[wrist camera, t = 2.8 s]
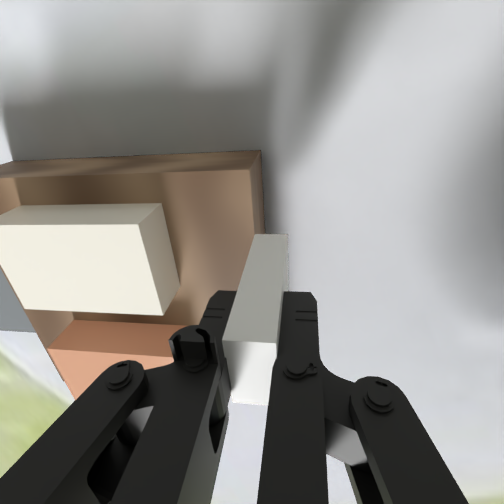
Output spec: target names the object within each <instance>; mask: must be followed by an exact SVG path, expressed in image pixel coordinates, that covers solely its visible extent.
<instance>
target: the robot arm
mask: <svg viewBox="0 0 504 504" xmlns="http://www.w3.org/2000/svg"><path fill="white" fill-rule="evenodd" d="M288 286H289V272H288V234H255V235H254V239H253V242H252V245H251V248H250V251H249V255H248V258H247V261H246V264H245V267H244V271H243V274H242V277H241V280H240V284H239V287H238V290H237V291H227V290H218V291H217V292H216V293H215V294H214V295H213V296H212V297H211V298H210V299H209V301H208V304H207V306H206V310H205V311H204V313H203V316H202V318H201V320H200V323H199V325H189V326H186V327H184V328H181V329H179V330H178V331H176V332H175V333H174V334H173V335H172V336H171V337H170V339H169V340H168V341H169V345H170V348H171V352H172V356H173V359H174V362H173V363H171V364H168V365H165V366H160V367H156V368H151V369H146V370H144V368H143V366H142V364H141V363H139V362H137V361H134V360H125V361H120V362H118V363H115V364H113V365H111V366H110V367H108V368H107V369H106V370H105V371H103V372H102V373H101V374H100V375H99V376H98V377H97V378H96V379H95V380H94V382H93V383H92V384H91V385H90V386H89V387H88V388H87V389H86V390H85V391H84V392H83V393H82V394H81V395H80V396H79V397H78V398H77V399H76V400H75V401H74V402H73V403H72V404H71V405H70V406H69V407H68V409H67V410H66V411H65V412H64V413H63V414H62V415H61V416H60V417H59V418H58V419H57V420H56V421H55V422H54V423H53V424H52V425H51V426H50V427H49V428H48V429H47V430H46V431H45V432H44V433H43V435H42V436H41V437H40V438H39V439H38V440H37V441H36V442H35V443H34V444H33V445H32V446H31V447H30V448H29V449H28V450H27V451H26V452H25V453H24V454H23V455H22V456H21V457H20V458H19V459H18V461H17V462H16V463H15V464H14V465H13V466H12V467H11V468H10V469H9V470H8V471H7V472H6V473H5V474H4V475H3V476H2V477H1V478H0V504H210V503H211V499H212V494H213V489H214V485H215V480H216V476H217V471H218V466H219V462H220V457H221V453H222V448H223V443H224V439H225V434H226V430H227V425H228V420H229V412H228V407H227V406H228V402H229V398H230V394H231V399H232V403H242V404H253V405H264V406H268V411H267V420H266V428H265V437H264V446H263V455H262V464H261V472H260V481H259V490H258V499H257V504H329V502H328V483H327V464H326V454H328V455H330V456H332V457H334V458H336V459H338V460H340V461H342V462H344V464H345V467H346V470H347V473H348V476H349V479H350V482H351V485H352V488H353V492H354V495H355V498H356V501H357V504H469V503H468V502H467V500H466V498H465V496H464V495H463V493H462V491H461V490H460V488H459V486H458V484H457V483H456V481H455V479H454V478H453V476H452V474H451V472H450V471H449V469H448V467H447V466H446V464H445V462H444V461H443V459H442V457H441V455H440V454H439V452H438V450H437V449H436V447H435V445H434V443H433V442H432V440H431V438H430V437H429V435H428V433H427V432H426V430H425V428H424V426H423V425H422V423H421V421H420V420H419V418H418V416H417V414H416V413H415V411H414V409H413V408H412V406H411V404H410V403H409V401H408V399H407V397H406V396H405V395H404V393H403V392H402V391H401V390H400V388H399V387H398V386H396V385H395V384H393V383H392V382H390V381H389V380H386V379H383V378H380V377H372V376H367V377H364V378H361V379H358V380H357V381H356V382H355V383H354V382H351V381H348V380H345V379H343V378H340V377H338V376H336V375H334V374H333V373H331V372H330V371H328V369H327V368H326V367H325V366H324V365H323V363H322V361H321V359H320V354H319V336H318V316H317V301H316V299H315V298H314V296H313V295H312V294H311V292H289V291H288Z"/></svg>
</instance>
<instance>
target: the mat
mask: <svg viewBox="0 0 504 504" xmlns="http://www.w3.org/2000/svg"><path fill="white" fill-rule="evenodd" d="M0 330H1V331H18V332H34V333H36V331H35V330H34V328H33V326H32V324H31V322H30V321H29V319H28V317H27V315H26V313H25V312H24V310H23V308H22V306H21V304H20V303H19V301H18V299H17V297H16V295H15V294H14V292H13V290H12V288H11V286H10V285H9V283H8V281H7V279H6V277H5V276H4V274H3V272H2V270H1V268H0Z"/></svg>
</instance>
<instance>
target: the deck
mask: <svg viewBox="0 0 504 504" xmlns="http://www.w3.org/2000/svg"><path fill="white" fill-rule="evenodd" d="M139 203H162V207H163V212H164V216H165V221H166V225H167V229H168V234H169V238H170V243H171V247H172V251H173V256H174V260H175V265H176V269H177V273H178V278H179V282H180V288H179V289H178V291H177V293H176V295H175V296H174V298H173V300H172V301H171V303H170V305H169V306H168V308H167V310H166V312H165V313H164V315H141V314H120V313H98V312H77V311H55V310H34V309H25V308H24V307H23V305H22V303H21V301H20V299H19V298H18V296H17V294H16V292H15V290H14V289H13V287H12V285H11V283H10V281H9V280H8V278H7V276H6V274H5V272H4V270H3V269H2V267H1V265H0V268H1V270H2V272H3V274H4V276H5V277H6V279H7V281H8V283H9V285H10V286H11V288H12V290H13V292H14V294H15V295H16V297H17V299H18V301H19V303H20V304H21V306H22V308H23V310H24V312H25V313H26V315H27V317H28V319H29V321H30V322H31V324H32V326H33V328H34V330H35V331H36V333H37V335H38V337H39V339H40V340H41V342H42V344H43V346H44V348H45V349H46V351H47V353H48V355H49V357H50V358H51V360H52V362H53V364H54V366H55V367H56V369H57V371H58V373H59V374H60V372H59V370H58V368H57V366H56V365H55V363H54V361H53V359H52V357H51V355H50V354H49V352H48V350H47V348H48V347H49V346H50V345H51V344H52V343H53V341H54V340H55V339H56V338H57V337H58V336H59V335H60V334H61V333H62V332H63V331H64V330H65V329H66V328H67V327H68V325H69V324H70V323H71V322H72V321H73V320H87V321H107V322H126V323H145V324H165V325H184V326H189V325H199V323H200V320H201V318H202V316H203V313H204V311H205V310H206V306H207V304H208V301H209V299H210V298H211V297H212V296H213V295H214V294H215V293H216V292H217V291H218V290H227V291H237V290H238V287H239V284H240V280H241V277H242V274H243V271H244V267H245V264H246V261H247V258H248V255H249V251H250V248H251V245H252V242H253V239H254V235H255V234H265V218H264V200H263V183H262V165H261V150H255V151H232V152H210V153H187V154H164V155H142V156H119V157H96V158H74V159H51V160H28V161H11V162H8V163H5V164H1V165H0V215H1V214H4V213H6V212H8V211H10V210H12V209H14V208H16V207H19V206H21V205H80V204H139ZM60 376H61V378H62V380H63V381H64V379H63V377H62V375H61V374H60ZM230 396H231V394H230Z"/></svg>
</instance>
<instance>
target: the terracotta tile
mask: <svg viewBox="0 0 504 504" xmlns="http://www.w3.org/2000/svg"><path fill="white" fill-rule="evenodd" d="M184 327H186V326H184V325H165V324H145V323H126V322H107V321H87V320H73V321H72V322H71V323H70V324H69V325H68V327H67V328H66V329H65V330H64V331H63V332H62V333H61V334H60V335H59V336H58V337H57V338H56V339H55V340H54V341H53V343H52V344H51V345H50V346H49V347H48V348H47V350H48V352H49V354H50V355H51V357H52V359H53V361H54V363H55V365H56V366H57V368H58V370H59V372H60V374H61V375H62V377H63V379H64V381H65V383H66V384H67V386H68V388H69V390H70V392H71V393H72V395H73V397H74V399H75V400H76V399H77V398H78V397H79V396H80V395H81V394H82V393H83V392H84V391H85V390H86V389H87V388H88V387H89V386H90V385H91V384H92V383H93V382H94V380H95V379H96V378H97V377H98V376H99V375H100V374H101V373H102V372H103V371H105V370H106V369H107V368H108V367H110V366H111V365H113V364H115V363H118V362H120V361H125V360H134V361H137V362H139V363H141V364H142V366H143V368H144V370H146V369H151V368H156V367H160V366H165V365H168V364H171V363H173V362H174V359H173V356H172V352H171V348H170V345H169V341H168V340H169V339H170V337H171V336H172V335H173V334H174V333H175V332H176V331H178V330H179V329H181V328H184Z"/></svg>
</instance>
